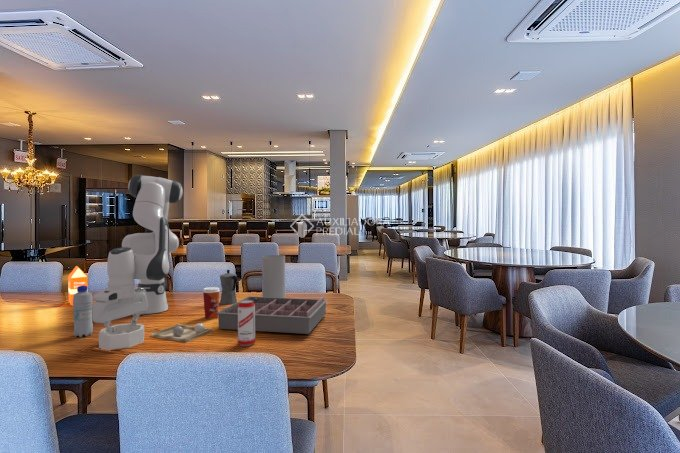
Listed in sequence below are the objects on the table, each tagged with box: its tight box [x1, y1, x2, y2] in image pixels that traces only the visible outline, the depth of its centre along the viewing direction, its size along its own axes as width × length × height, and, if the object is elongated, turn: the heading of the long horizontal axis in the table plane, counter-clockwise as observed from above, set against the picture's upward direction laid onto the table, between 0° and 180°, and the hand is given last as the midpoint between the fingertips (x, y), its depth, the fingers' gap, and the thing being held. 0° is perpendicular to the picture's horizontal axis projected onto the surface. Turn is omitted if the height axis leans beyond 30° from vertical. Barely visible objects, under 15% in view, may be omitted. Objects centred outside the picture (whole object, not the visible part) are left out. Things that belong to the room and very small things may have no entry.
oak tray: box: [150, 323, 213, 343], centre depth 150 cm, size 18×14×2 cm
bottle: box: [72, 285, 94, 338], centre depth 149 cm, size 7×7×20 cm
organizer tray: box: [216, 295, 328, 335], centre depth 166 cm, size 32×40×10 cm
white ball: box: [194, 322, 206, 334], centre depth 150 cm, size 4×4×4 cm
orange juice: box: [67, 265, 89, 306], centre depth 204 cm, size 8×9×20 cm
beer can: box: [237, 299, 256, 347], centre depth 139 cm, size 6×6×16 cm
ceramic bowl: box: [98, 323, 145, 351], centre depth 140 cm, size 14×14×6 cm
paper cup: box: [202, 286, 221, 320], centre depth 174 cm, size 8×8×14 cm
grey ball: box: [173, 326, 184, 337], centre depth 146 cm, size 4×4×4 cm
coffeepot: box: [219, 269, 238, 305], centre depth 204 cm, size 15×9×18 cm, turn 43°
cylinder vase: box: [261, 254, 286, 298], centre depth 209 cm, size 12×12×25 cm
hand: (122, 328), depth 139 cm, fingers open, 8 cm apart
